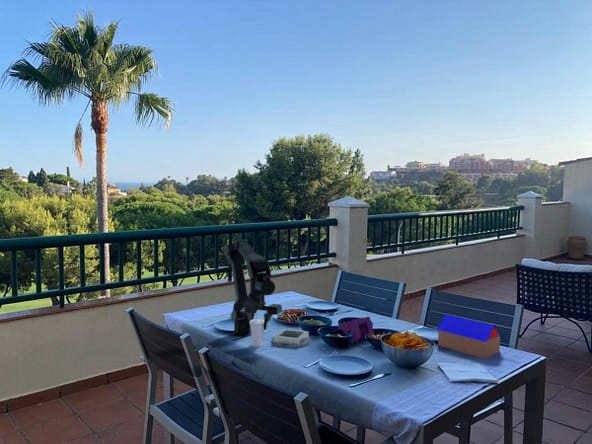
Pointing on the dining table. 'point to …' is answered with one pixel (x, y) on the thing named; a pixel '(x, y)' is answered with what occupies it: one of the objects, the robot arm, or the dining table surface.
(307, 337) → the disk with square socket
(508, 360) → the dining table surface
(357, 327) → the mounting bracket
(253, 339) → the smoothie
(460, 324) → the house
